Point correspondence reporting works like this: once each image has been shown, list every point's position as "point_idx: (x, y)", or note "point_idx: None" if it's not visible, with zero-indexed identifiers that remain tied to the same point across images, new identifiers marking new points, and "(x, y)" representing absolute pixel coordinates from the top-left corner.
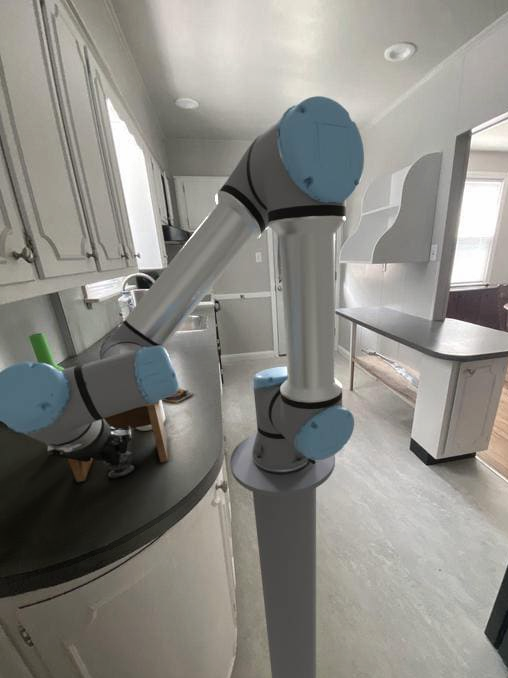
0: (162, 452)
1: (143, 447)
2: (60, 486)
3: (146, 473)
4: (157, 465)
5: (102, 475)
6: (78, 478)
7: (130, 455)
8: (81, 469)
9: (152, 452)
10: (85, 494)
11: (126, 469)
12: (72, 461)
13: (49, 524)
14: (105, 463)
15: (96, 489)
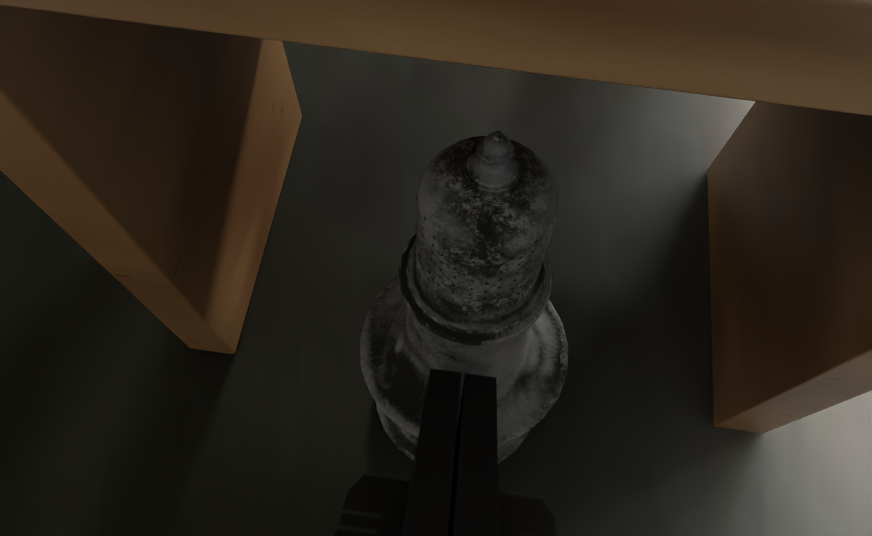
0: (781, 412)
1: (594, 177)
2: (99, 333)
3: (615, 505)
4: (690, 447)
5: (337, 356)
6: (196, 342)
7: (559, 379)
8: (212, 318)
9: (653, 266)
10: (223, 519)
11: None
12: (143, 289)
13: None
14: (373, 392)
15: (291, 502)
